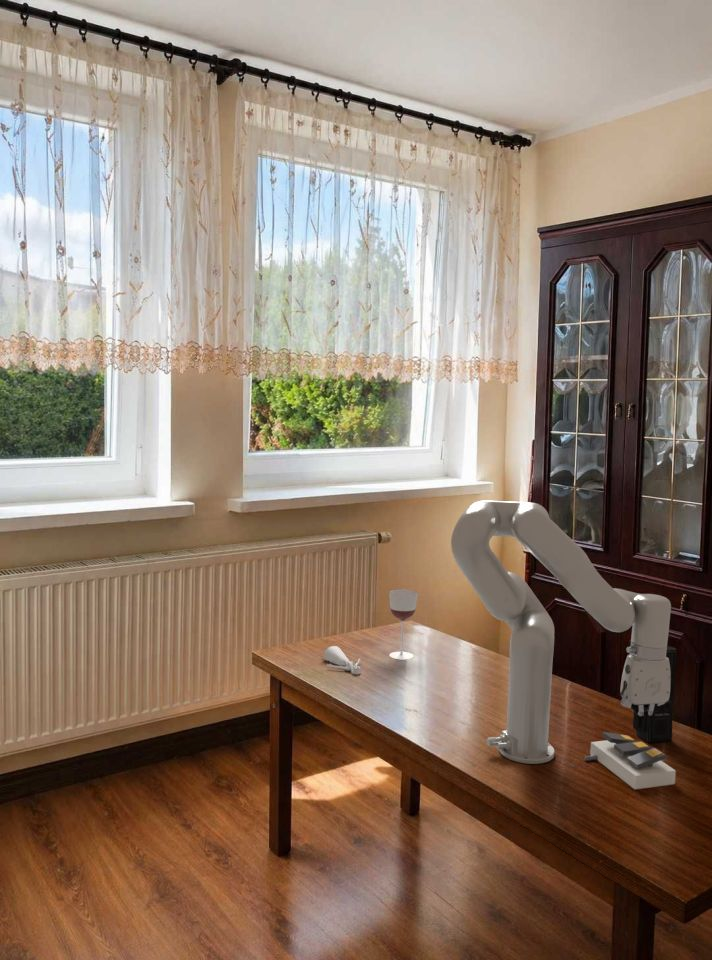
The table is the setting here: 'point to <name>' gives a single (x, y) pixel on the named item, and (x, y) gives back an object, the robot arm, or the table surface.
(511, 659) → the robot arm
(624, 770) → the rocker switch panel
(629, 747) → the rocker middle
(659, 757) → the rocker far end
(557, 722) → the table surface
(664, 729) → the portable radio
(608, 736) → the rocker near arm
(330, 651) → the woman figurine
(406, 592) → the wineglass
